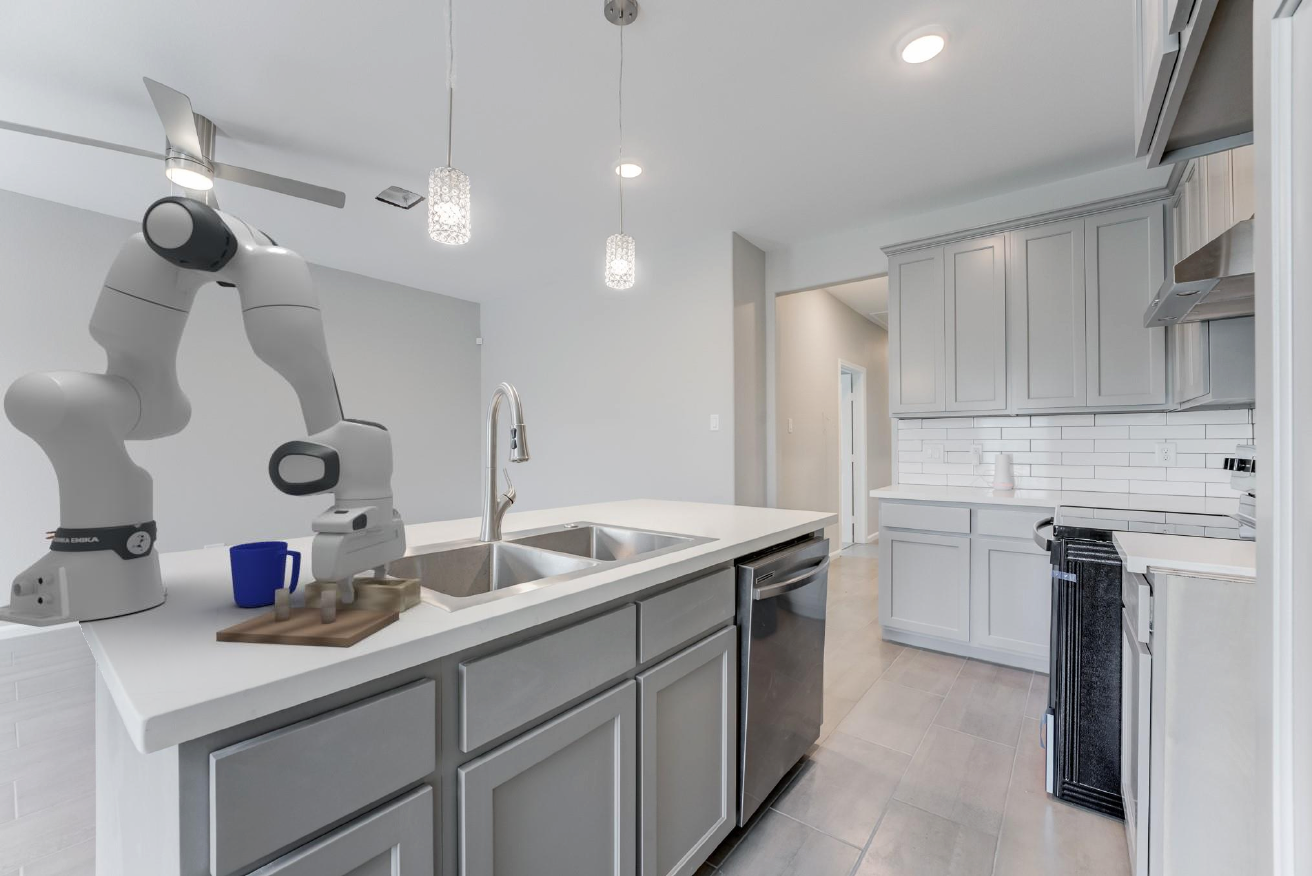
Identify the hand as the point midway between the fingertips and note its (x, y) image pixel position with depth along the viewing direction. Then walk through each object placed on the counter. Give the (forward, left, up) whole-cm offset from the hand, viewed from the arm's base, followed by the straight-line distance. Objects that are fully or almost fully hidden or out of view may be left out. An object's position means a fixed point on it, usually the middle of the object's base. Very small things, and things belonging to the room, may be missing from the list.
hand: (364, 595), depth 95 cm
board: (0, -12, -2) cm, 12 cm away
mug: (-17, -1, -2) cm, 17 cm away
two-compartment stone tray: (0, 0, -2) cm, 2 cm away
